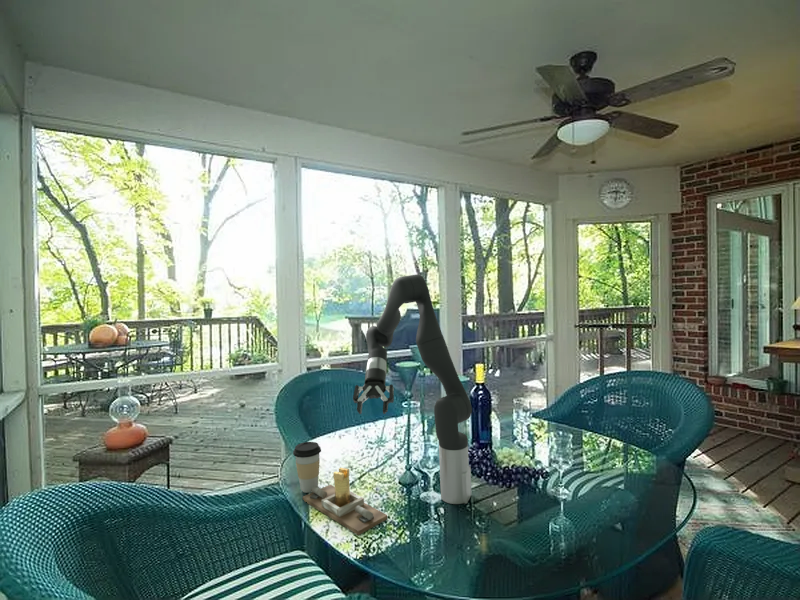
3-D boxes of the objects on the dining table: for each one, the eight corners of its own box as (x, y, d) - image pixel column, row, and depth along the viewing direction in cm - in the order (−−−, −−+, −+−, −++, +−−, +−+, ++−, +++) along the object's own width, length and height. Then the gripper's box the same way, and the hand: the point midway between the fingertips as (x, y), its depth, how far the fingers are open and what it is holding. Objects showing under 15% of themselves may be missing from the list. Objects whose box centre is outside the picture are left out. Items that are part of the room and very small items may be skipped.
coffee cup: (313, 479, 161) (310, 438, 160) (328, 487, 155) (326, 445, 154) (290, 489, 155) (287, 446, 154) (305, 498, 148) (302, 454, 147)
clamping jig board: (387, 519, 134) (386, 506, 133) (358, 535, 126) (357, 522, 126) (330, 487, 155) (329, 477, 154) (302, 500, 147) (302, 488, 147)
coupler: (353, 502, 142) (351, 469, 141) (345, 510, 137) (343, 475, 136) (340, 499, 143) (339, 466, 143) (332, 507, 139) (330, 473, 138)
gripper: (355, 367, 164) (349, 408, 153) (393, 366, 162) (390, 407, 151) (358, 378, 169) (353, 418, 159) (396, 377, 167) (393, 417, 157)
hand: (371, 412), depth 155 cm, fingers open, 8 cm apart
